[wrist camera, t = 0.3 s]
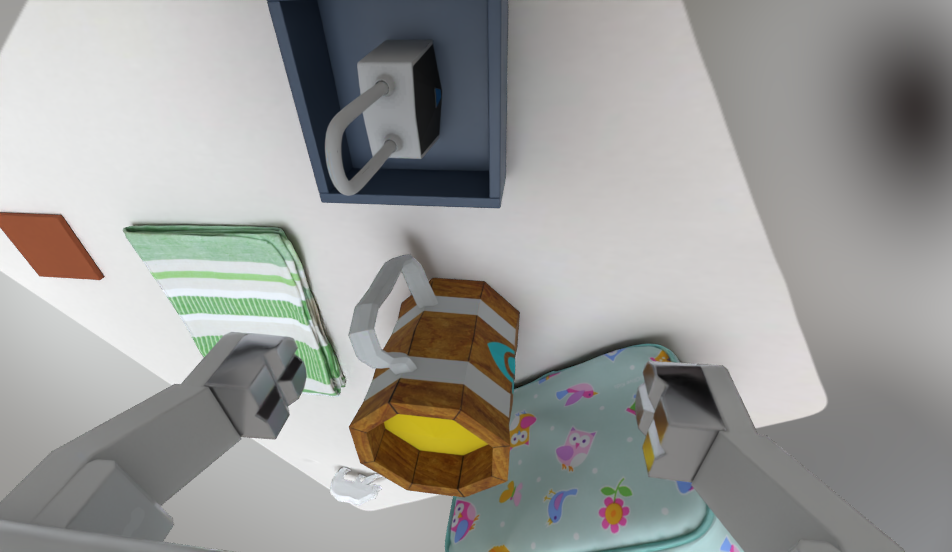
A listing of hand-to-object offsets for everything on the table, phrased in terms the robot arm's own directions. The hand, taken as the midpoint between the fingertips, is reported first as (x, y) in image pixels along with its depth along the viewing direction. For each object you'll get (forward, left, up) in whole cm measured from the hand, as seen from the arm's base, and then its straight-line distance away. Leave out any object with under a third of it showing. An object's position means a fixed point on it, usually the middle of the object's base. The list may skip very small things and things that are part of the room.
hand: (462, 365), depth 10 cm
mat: (+16, -51, -26) cm, 59 cm away
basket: (0, -7, -26) cm, 27 cm away
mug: (+21, -7, -26) cm, 34 cm away
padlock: (0, -7, -26) cm, 27 cm away
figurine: (+58, -23, -26) cm, 68 cm away
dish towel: (+24, -30, -26) cm, 46 cm away
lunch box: (+33, +7, -26) cm, 43 cm away
